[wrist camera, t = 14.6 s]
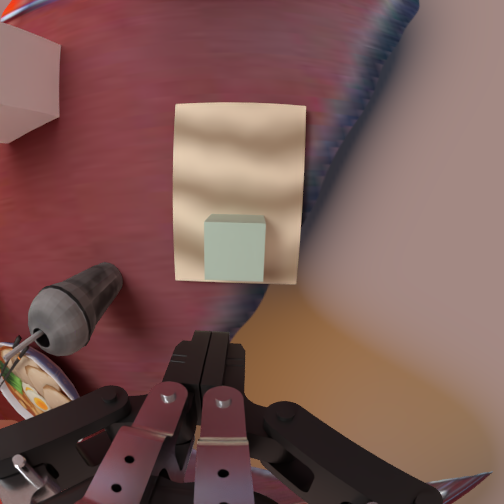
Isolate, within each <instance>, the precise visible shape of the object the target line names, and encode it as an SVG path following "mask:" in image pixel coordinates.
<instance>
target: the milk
mask: <svg viewBox="0 0 504 504" xmlns="http://www.w3.org/2000/svg"><path fill="white" fill-rule="evenodd" d="M60 51H61V45H59V44H57V43H55V42H52V41H50V40H48V39H45V38H43V37H40V36H38V35H35V34H33V33H30V32H28V31H25V30H22V29H20V28H17V27H14V26H11V25H9V24H6V23H3V22H0V143H10V142H12V141H14V140H15V139H17V138H19V137H21V136H22V135H24V134H26V133H28V132H30V131H32V130H34V129H36V128H38V127H40V126H42V125H44V124H46V123H48V122H50V121H52V120H54V119H56V118H58V117H59V69H60Z"/></svg>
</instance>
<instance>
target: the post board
mask: <svg viewBox="0 0 504 504" xmlns="http://www.w3.org/2000/svg"><path fill="white" fill-rule="evenodd" d="M305 130H306V106H298V105H286V104H269V103H237V102H220V103H188V104H176V106H175V124H174V150H173V233H174V259H175V278H176V280H184V281H205V282H230V283H261V284H296V281H297V270H298V258H299V246H300V232H301V218H302V201H303V182H304V160H305ZM211 214H240V215H264V218H265V222H266V232H265V254H264V275H263V282H256V281H227V280H205V268H204V221H205V220H206V219H207V218H208V217H209V216H210V215H211Z"/></svg>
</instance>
